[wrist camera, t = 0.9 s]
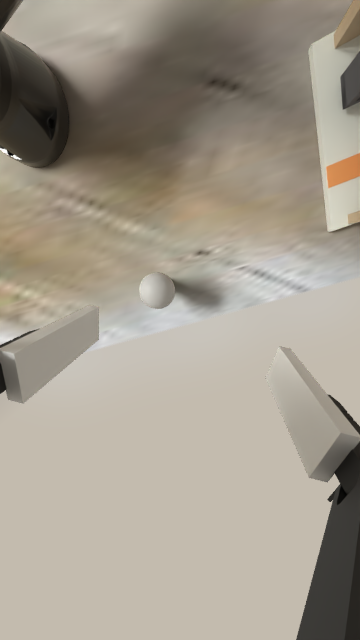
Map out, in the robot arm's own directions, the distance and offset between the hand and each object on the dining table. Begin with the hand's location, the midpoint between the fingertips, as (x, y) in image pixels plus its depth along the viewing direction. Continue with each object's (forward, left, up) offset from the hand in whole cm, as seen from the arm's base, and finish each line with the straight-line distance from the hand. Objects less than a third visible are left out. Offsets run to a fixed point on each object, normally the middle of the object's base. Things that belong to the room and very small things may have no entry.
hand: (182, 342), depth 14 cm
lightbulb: (-2, -7, -27) cm, 28 cm away
